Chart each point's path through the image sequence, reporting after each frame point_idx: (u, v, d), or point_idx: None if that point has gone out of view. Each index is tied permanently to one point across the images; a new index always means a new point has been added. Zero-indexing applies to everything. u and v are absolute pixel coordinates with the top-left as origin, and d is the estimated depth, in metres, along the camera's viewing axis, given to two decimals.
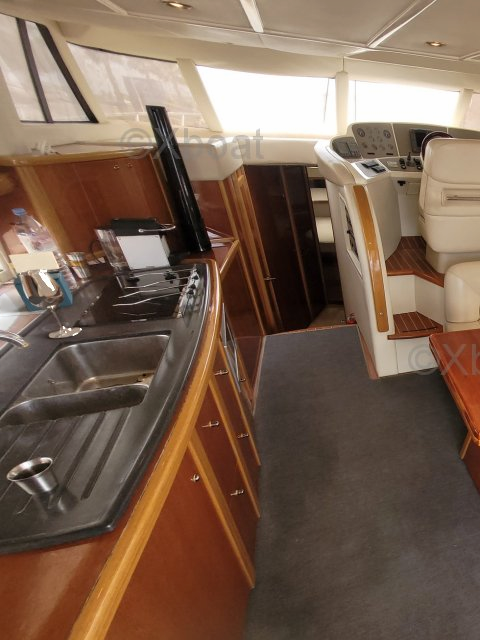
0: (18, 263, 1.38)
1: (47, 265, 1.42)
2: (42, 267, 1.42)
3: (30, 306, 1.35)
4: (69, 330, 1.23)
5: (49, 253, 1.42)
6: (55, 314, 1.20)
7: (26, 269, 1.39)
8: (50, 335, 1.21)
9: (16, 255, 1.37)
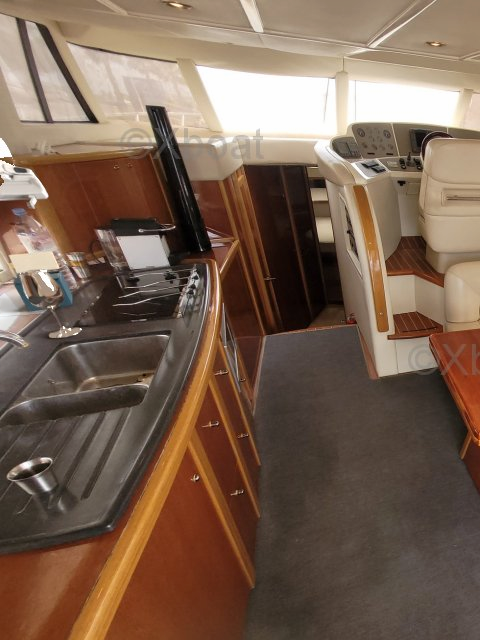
0: (18, 263, 1.38)
1: (47, 265, 1.42)
2: (42, 267, 1.42)
3: (30, 306, 1.35)
4: (69, 330, 1.23)
5: (49, 253, 1.42)
6: (55, 314, 1.20)
7: (26, 269, 1.39)
8: (50, 335, 1.21)
9: (16, 255, 1.37)
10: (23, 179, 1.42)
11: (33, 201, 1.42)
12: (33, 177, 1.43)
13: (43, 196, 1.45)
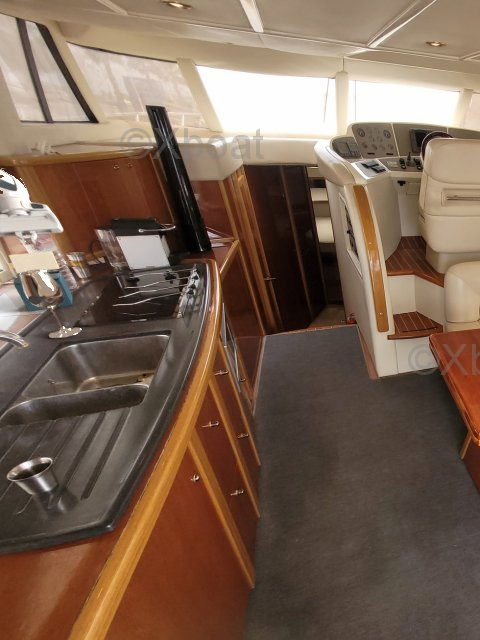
0: (18, 263, 1.38)
1: (47, 265, 1.42)
2: (42, 267, 1.42)
3: (30, 306, 1.35)
4: (69, 330, 1.23)
5: (49, 253, 1.42)
6: (55, 314, 1.20)
7: (26, 269, 1.39)
8: (50, 335, 1.21)
9: (16, 255, 1.37)
10: (40, 215, 1.46)
11: (34, 236, 1.45)
12: (49, 212, 1.48)
13: (58, 230, 1.49)
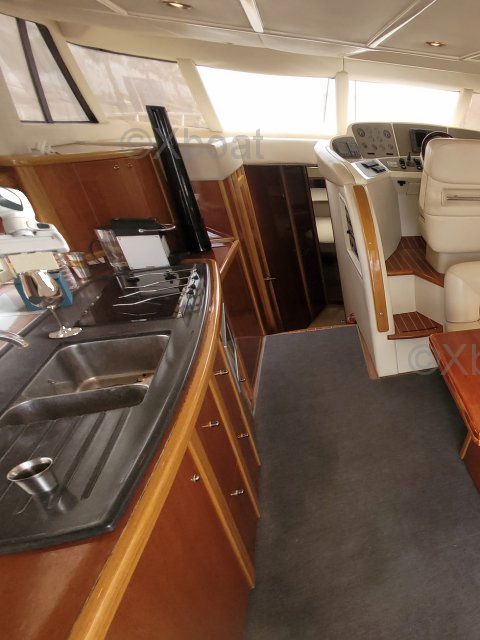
0: (17, 263, 1.37)
1: (47, 265, 1.42)
2: (42, 267, 1.41)
3: (30, 306, 1.35)
4: (69, 330, 1.23)
5: (48, 254, 1.41)
6: (55, 314, 1.20)
7: (26, 269, 1.39)
8: (50, 335, 1.21)
9: (15, 256, 1.36)
10: (46, 235, 1.43)
11: None
12: (55, 232, 1.45)
13: (65, 250, 1.46)
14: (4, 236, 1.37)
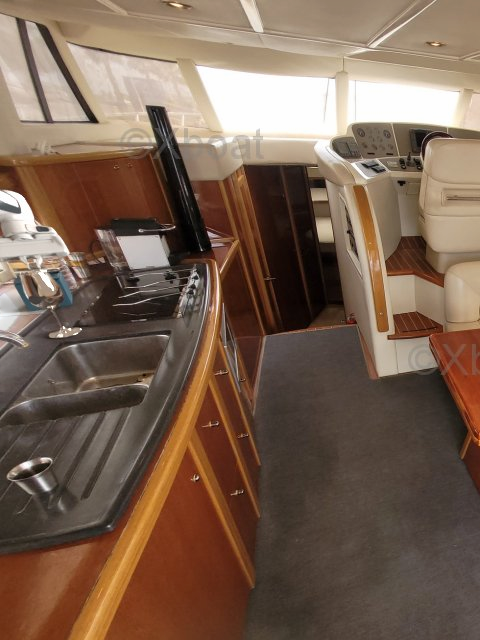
0: None
1: (49, 270, 1.42)
2: None
3: (30, 306, 1.35)
4: (69, 330, 1.23)
5: (54, 269, 1.40)
6: (55, 314, 1.20)
7: None
8: (50, 335, 1.21)
9: (20, 272, 1.35)
10: (45, 238, 1.40)
11: (39, 261, 1.38)
12: (55, 235, 1.41)
13: (64, 253, 1.43)
14: (2, 239, 1.34)
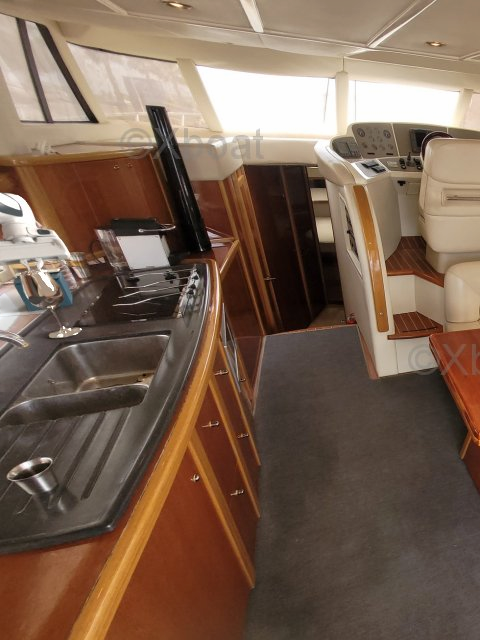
0: None
1: None
2: None
3: (30, 306, 1.35)
4: (69, 330, 1.23)
5: (55, 271, 1.40)
6: (55, 314, 1.20)
7: None
8: (50, 335, 1.21)
9: None
10: (46, 241, 1.39)
11: (40, 264, 1.37)
12: (56, 238, 1.40)
13: (65, 256, 1.42)
14: (3, 243, 1.33)
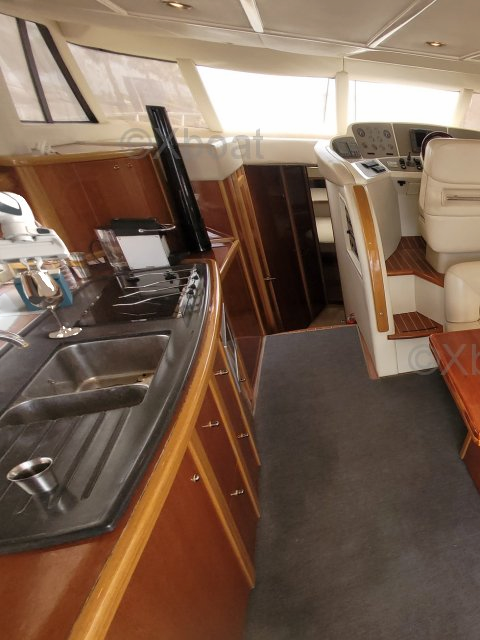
0: None
1: None
2: None
3: (30, 306, 1.35)
4: (69, 330, 1.23)
5: None
6: (55, 314, 1.20)
7: None
8: (50, 335, 1.21)
9: None
10: (46, 240, 1.40)
11: (39, 263, 1.38)
12: (56, 237, 1.41)
13: (65, 255, 1.42)
14: (3, 241, 1.33)
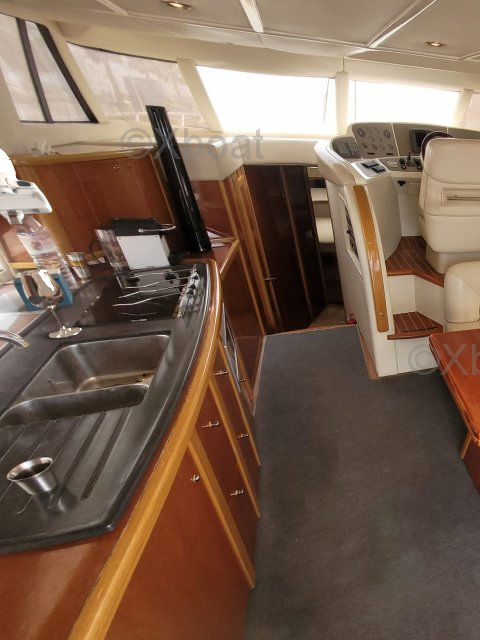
0: None
1: None
2: None
3: (30, 306, 1.35)
4: (69, 330, 1.23)
5: None
6: (55, 314, 1.20)
7: None
8: (50, 335, 1.21)
9: None
10: (27, 193, 1.38)
11: (20, 216, 1.36)
12: (37, 191, 1.39)
13: (46, 210, 1.40)
14: None
